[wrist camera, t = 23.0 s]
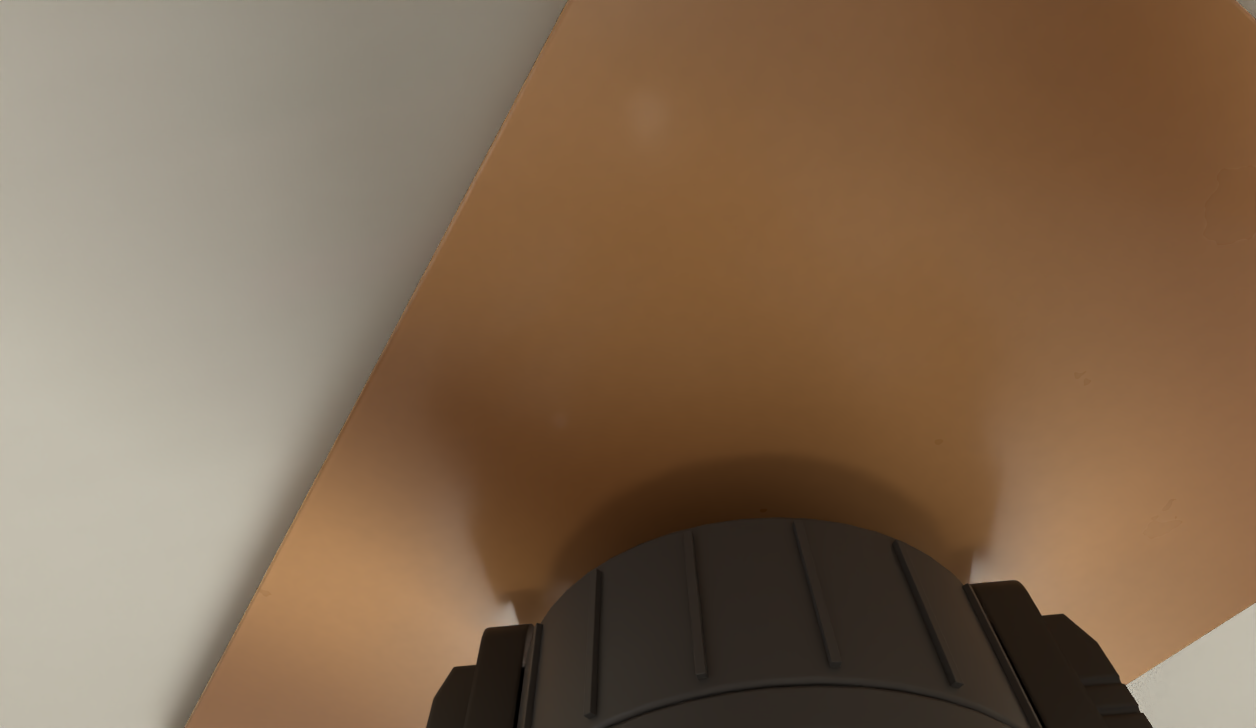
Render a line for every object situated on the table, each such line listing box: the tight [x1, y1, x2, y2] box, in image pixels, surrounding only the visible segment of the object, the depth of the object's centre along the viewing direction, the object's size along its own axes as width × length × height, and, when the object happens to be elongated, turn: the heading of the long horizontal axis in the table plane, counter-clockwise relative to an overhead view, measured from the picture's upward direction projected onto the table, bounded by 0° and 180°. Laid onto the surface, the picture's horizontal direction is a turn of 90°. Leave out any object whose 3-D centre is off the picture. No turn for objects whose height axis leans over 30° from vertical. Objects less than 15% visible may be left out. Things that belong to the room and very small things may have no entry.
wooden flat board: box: [184, 0, 1256, 728], centre depth 12 cm, size 20×14×1 cm
